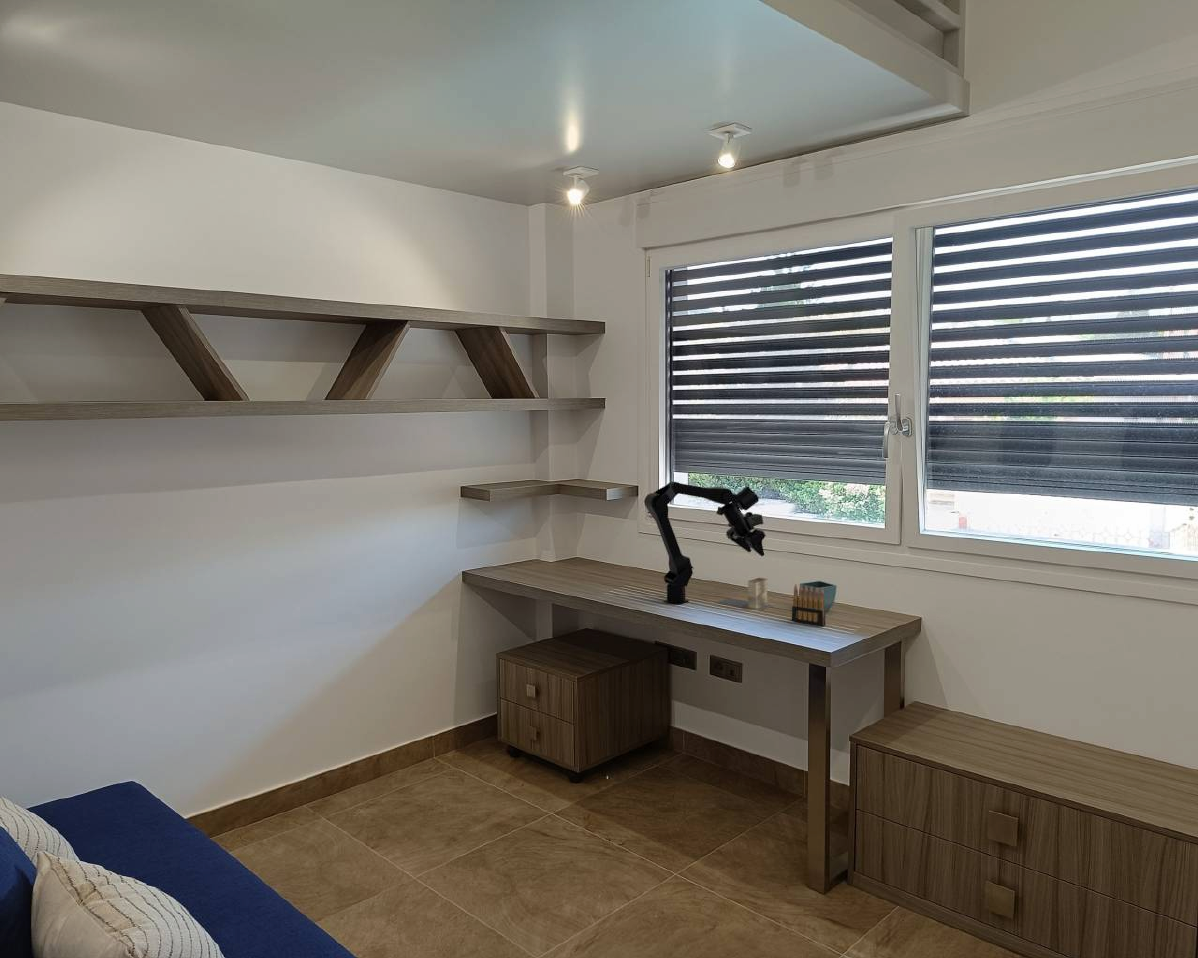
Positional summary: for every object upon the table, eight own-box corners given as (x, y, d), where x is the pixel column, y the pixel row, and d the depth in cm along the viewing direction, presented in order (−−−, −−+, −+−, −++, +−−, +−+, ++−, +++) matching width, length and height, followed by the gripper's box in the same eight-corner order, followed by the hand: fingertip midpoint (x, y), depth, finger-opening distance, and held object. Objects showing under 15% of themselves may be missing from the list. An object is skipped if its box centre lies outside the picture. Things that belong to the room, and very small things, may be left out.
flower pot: (816, 615, 296) (816, 588, 296) (798, 610, 304) (798, 583, 303) (837, 612, 300) (837, 585, 300) (819, 606, 308) (819, 580, 307)
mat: (761, 611, 303) (761, 610, 303) (716, 603, 315) (716, 602, 315) (774, 606, 309) (774, 605, 309) (729, 599, 321) (729, 598, 321)
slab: (755, 608, 305) (756, 581, 304) (748, 607, 307) (748, 580, 306) (767, 605, 310) (767, 578, 309) (759, 603, 312) (759, 577, 311)
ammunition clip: (791, 621, 288) (791, 584, 287) (794, 620, 290) (794, 583, 289) (822, 626, 282) (823, 588, 281) (825, 625, 283) (826, 587, 282)
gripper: (766, 507, 316) (787, 544, 320) (740, 502, 333) (760, 536, 337) (741, 526, 313) (763, 562, 317) (716, 520, 331) (737, 554, 334)
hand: (756, 553), depth 326 cm, fingers open, 9 cm apart
